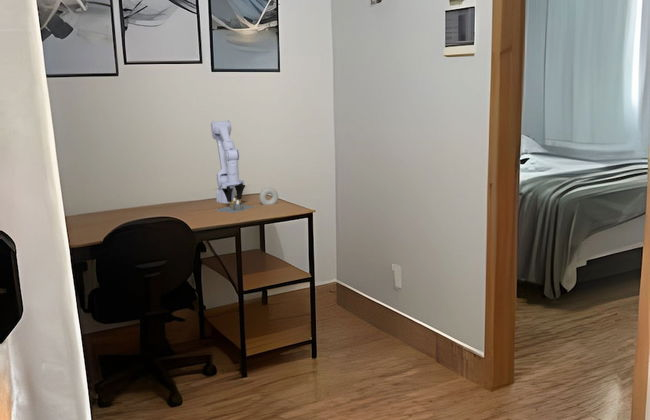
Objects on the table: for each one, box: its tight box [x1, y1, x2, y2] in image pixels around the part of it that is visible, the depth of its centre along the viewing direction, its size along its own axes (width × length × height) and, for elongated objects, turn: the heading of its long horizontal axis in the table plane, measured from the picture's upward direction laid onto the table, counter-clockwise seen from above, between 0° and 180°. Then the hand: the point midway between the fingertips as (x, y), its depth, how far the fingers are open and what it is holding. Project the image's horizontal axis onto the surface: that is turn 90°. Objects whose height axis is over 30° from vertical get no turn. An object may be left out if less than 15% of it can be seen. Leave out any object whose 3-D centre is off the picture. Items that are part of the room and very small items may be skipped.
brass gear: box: [229, 198, 242, 208], centre depth 318 cm, size 6×6×4 cm
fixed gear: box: [232, 202, 245, 211], centre depth 312 cm, size 5×5×3 cm
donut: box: [258, 187, 279, 206], centre depth 323 cm, size 10×4×10 cm, turn 109°
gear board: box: [214, 197, 255, 214], centre depth 314 cm, size 13×16×6 cm
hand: (234, 200), depth 318 cm, fingers open, 7 cm apart
